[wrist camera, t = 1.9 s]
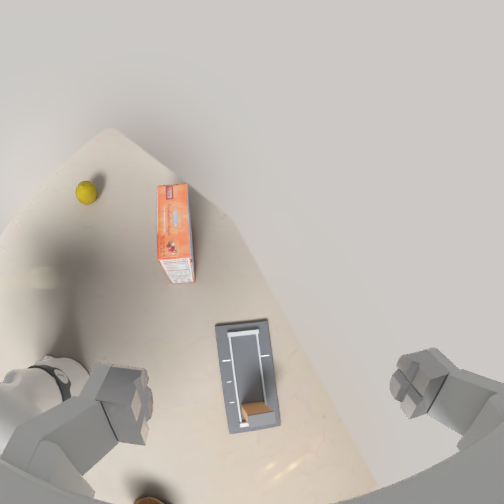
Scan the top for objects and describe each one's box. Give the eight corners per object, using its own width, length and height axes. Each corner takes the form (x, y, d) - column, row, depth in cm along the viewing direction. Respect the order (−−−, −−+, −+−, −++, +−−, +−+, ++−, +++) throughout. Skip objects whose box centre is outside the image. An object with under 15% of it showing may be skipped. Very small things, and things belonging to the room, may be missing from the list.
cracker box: (167, 228, 66) (156, 183, 47) (191, 226, 67) (189, 181, 48) (169, 284, 62) (156, 259, 43) (195, 282, 64) (193, 257, 44)
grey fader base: (279, 424, 56) (281, 426, 55) (229, 432, 54) (230, 435, 52) (266, 321, 64) (268, 320, 62) (215, 326, 61) (215, 326, 60)
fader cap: (264, 410, 56) (275, 423, 47) (241, 414, 55) (249, 427, 45) (262, 400, 57) (274, 411, 47) (240, 404, 56) (247, 415, 46)
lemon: (100, 189, 66) (91, 173, 58) (100, 206, 65) (91, 192, 57) (82, 193, 65) (72, 178, 57) (82, 211, 63) (71, 197, 56)
